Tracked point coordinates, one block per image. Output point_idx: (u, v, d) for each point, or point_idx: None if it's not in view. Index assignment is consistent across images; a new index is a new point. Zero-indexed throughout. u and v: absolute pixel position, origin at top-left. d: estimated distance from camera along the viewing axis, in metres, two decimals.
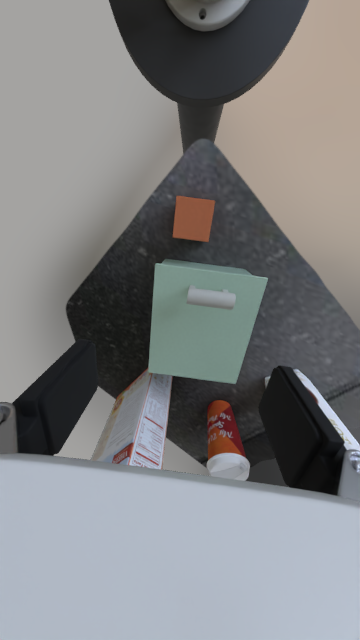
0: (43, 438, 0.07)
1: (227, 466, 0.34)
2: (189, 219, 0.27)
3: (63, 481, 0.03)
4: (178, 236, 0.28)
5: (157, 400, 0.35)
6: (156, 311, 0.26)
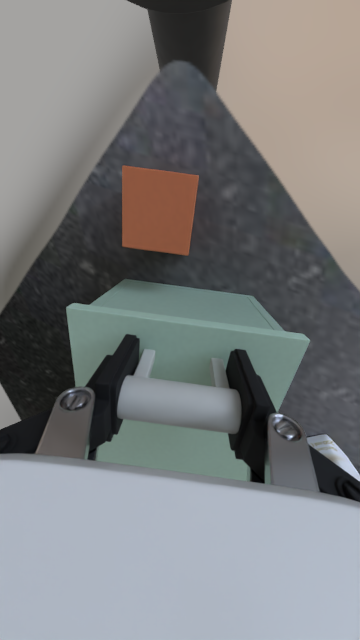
0: (110, 420, 0.08)
1: None
2: (151, 213, 0.14)
3: (63, 481, 0.03)
4: (132, 245, 0.15)
5: None
6: None
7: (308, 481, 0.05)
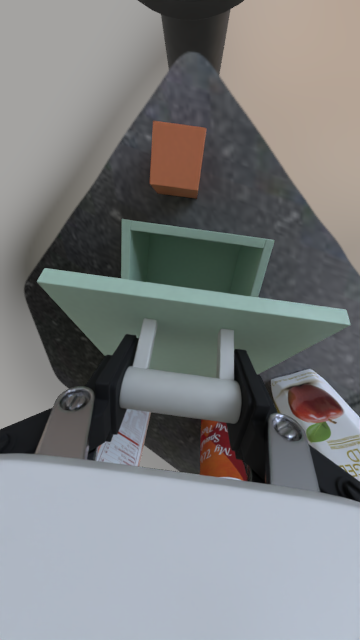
0: (109, 419, 0.08)
1: None
2: (172, 157, 0.19)
3: (63, 481, 0.03)
4: (157, 182, 0.20)
5: None
6: (94, 337, 0.14)
7: (309, 481, 0.05)
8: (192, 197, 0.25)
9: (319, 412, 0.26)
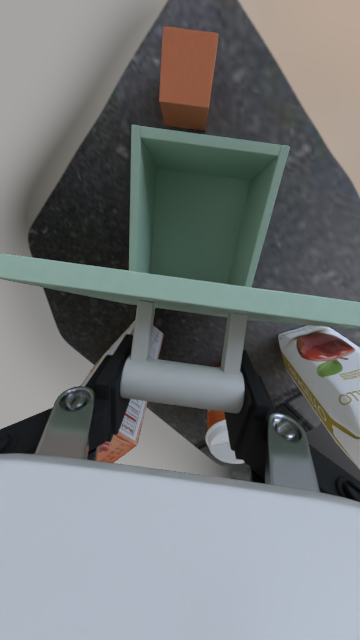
0: (110, 420, 0.08)
1: None
2: (182, 69, 0.19)
3: (63, 481, 0.03)
4: (166, 99, 0.20)
5: None
6: (91, 296, 0.13)
7: (308, 481, 0.05)
8: (201, 128, 0.24)
9: (330, 352, 0.26)
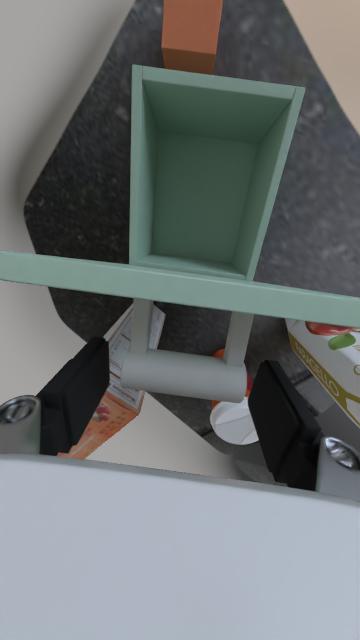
0: (64, 430, 0.07)
1: (239, 414, 0.24)
2: (187, 9, 0.17)
3: (63, 481, 0.03)
4: (170, 45, 0.18)
5: None
6: None
7: None
8: None
9: (341, 327, 0.25)
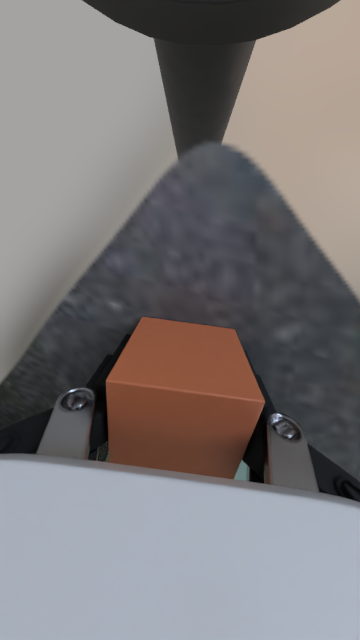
0: None
1: None
2: (164, 442, 0.07)
3: (63, 481, 0.03)
4: None
5: None
6: None
7: (307, 481, 0.05)
8: None
9: None
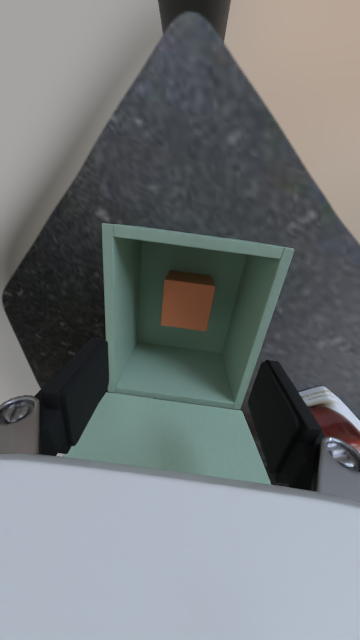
0: (63, 431, 0.07)
1: None
2: (182, 306, 0.20)
3: (63, 481, 0.03)
4: (167, 324, 0.21)
5: None
6: None
7: None
8: None
9: None
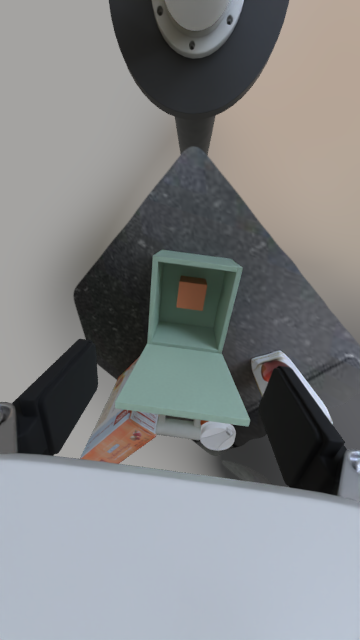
0: (43, 439, 0.07)
1: (215, 431, 0.39)
2: (189, 296, 0.36)
3: (63, 481, 0.03)
4: (180, 307, 0.37)
5: None
6: None
7: None
8: None
9: None
